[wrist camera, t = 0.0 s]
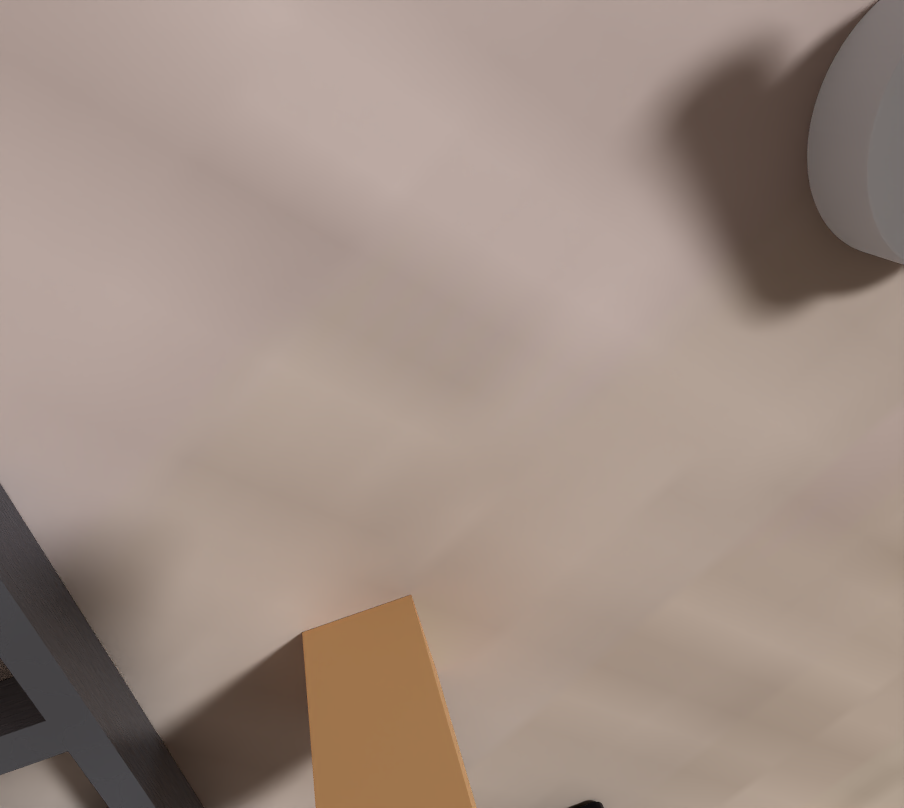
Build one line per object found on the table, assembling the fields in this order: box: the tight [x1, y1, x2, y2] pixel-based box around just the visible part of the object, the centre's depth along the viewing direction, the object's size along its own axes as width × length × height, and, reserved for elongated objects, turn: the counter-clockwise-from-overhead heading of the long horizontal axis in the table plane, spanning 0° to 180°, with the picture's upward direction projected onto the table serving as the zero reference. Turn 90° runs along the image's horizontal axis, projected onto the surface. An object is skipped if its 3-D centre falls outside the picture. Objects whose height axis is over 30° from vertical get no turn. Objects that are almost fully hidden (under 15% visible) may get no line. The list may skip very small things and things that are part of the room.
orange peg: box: [302, 595, 476, 808], centre depth 23 cm, size 4×4×9 cm
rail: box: [0, 484, 204, 808], centre depth 24 cm, size 23×8×2 cm, turn 13°
